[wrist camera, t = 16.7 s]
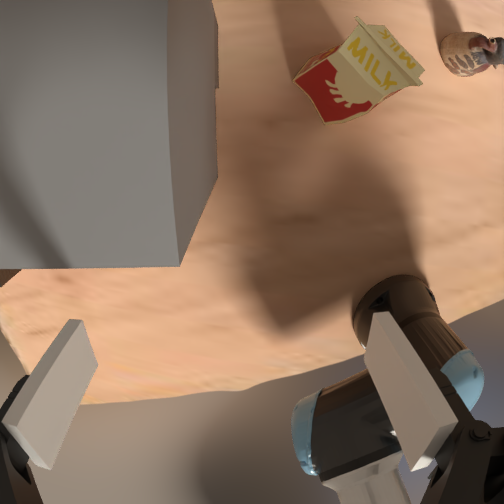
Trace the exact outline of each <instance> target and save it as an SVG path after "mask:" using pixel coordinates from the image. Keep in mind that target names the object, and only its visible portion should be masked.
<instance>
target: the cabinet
mask: <svg viewBox="0 0 504 504" xmlns="http://www.w3.org/2000/svg"><path fill="white" fill-rule="evenodd" d="M215 88H219V76H218V24H217V20H216V16H215V12H214V8H213V4H212V0H0V269H68V268H135V267H180V265H181V262H182V260H183V257H184V255H185V252H186V250H187V248H188V245H189V243H190V240H191V238H192V235H193V233H194V231H195V228H196V226H197V224H198V221H199V219H200V217H201V214H202V212H203V210H204V207H205V205H206V203H207V200H208V198H209V196H210V194H211V191H212V189H213V187H214V185H215V182H216V180H217V178H218V168H217V140H216V106H215Z"/></svg>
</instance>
